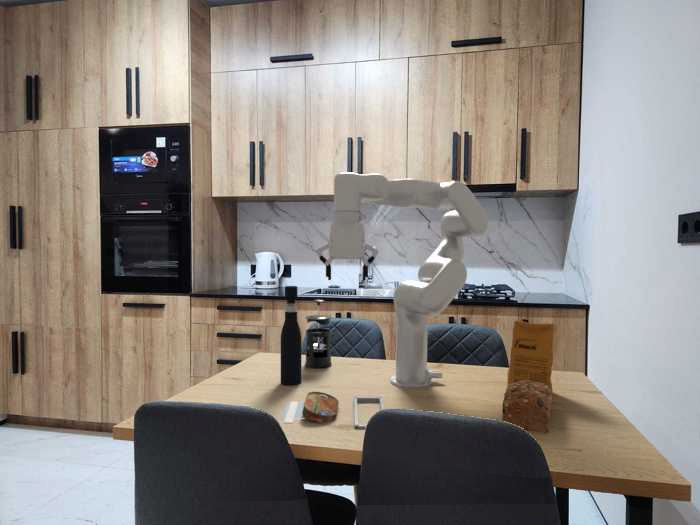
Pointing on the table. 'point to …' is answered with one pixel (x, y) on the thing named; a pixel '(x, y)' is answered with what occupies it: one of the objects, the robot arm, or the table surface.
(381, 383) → the table surface
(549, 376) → the coffee package
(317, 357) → the french press
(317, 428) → the table surface
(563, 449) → the table surface
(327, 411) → the tin
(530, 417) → the bread
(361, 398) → the tray
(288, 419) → the ticket board
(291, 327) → the black water bottle
